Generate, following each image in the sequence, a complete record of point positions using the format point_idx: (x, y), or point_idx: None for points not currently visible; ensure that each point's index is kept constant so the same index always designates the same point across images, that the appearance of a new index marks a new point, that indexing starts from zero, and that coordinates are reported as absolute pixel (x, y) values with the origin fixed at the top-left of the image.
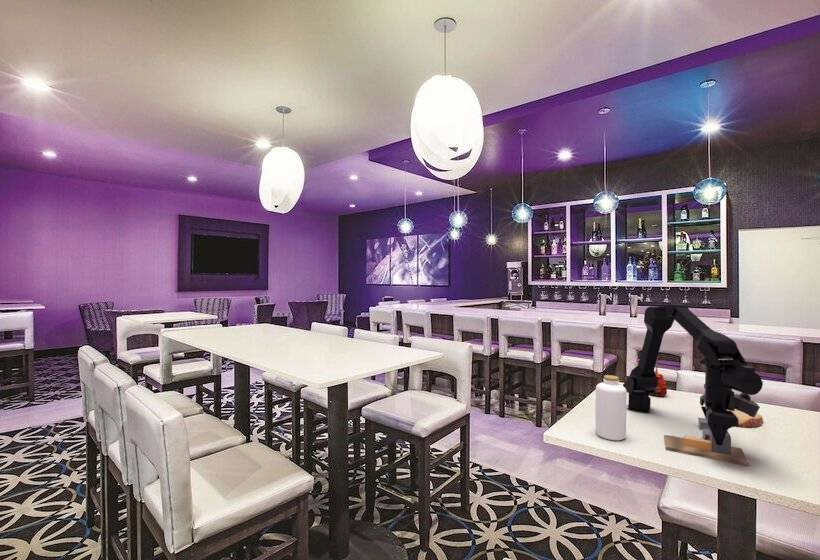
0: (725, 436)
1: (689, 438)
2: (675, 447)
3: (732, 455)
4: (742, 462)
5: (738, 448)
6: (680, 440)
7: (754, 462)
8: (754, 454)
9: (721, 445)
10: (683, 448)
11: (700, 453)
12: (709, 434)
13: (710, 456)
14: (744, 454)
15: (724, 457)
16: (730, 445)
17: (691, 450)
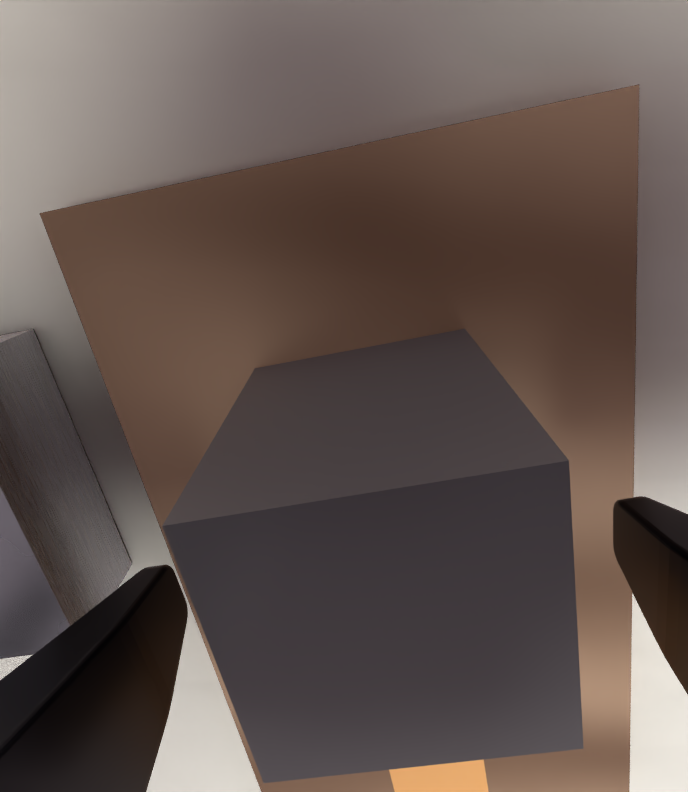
0: (567, 545)
1: (456, 769)
2: (588, 761)
3: (455, 306)
4: (630, 180)
5: (81, 247)
6: None
7: (402, 29)
8: (35, 35)
9: (646, 499)
10: None
11: (630, 595)
12: (33, 607)
13: None
14: (289, 162)
15: (604, 387)
16: (501, 378)
17: (587, 662)
